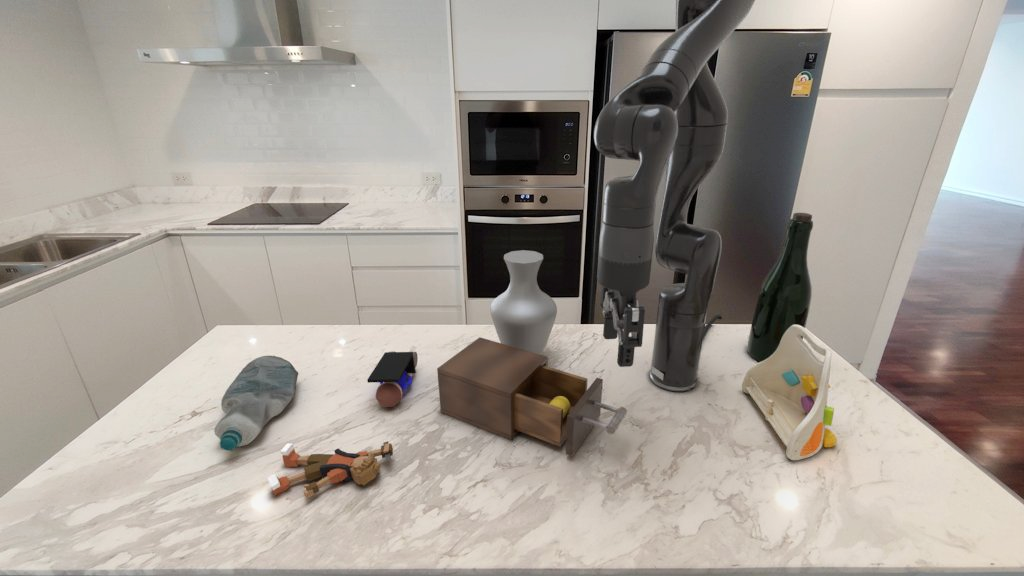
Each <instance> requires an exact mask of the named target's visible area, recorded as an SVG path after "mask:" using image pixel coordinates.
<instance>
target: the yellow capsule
mask: <svg viewBox="0 0 1024 576" xmlns="http://www.w3.org/2000/svg"><path fill="white" fill-rule="evenodd" d="M549 404H550V405H553V406H556V407H559V408H562V409H563V419H564V417H565V416H566V415H567V414H568V412H569V410H570V402H569V401H568V399H567V398H565V397H563V396H557V397H555V398H554V399H553V400H552V401H551V402H550V403H549Z"/></svg>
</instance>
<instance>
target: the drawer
mask: <svg viewBox="0 0 1024 576" xmlns="http://www.w3.org/2000/svg"><path fill="white" fill-rule="evenodd" d="M588 380H589V379H588V378H587V377H584V376H580V375H577V374H574V373H570V372H567V371H564V370H560V369H556V368H554V367H551V366H548V367H547V366H544V365H543V366H542V367H541V368H540V369H539V370H538V371H537V372H536V373H535V374H534V375H533V376H532V377H531V378H530V379H529V380H528V381H527V382H526V383H525V384H524V385H523V386H522V387H521V388H520V389H519V390H518V391H517V392H516V393H515V394H514V395H513V422H514V429H515V430H518V431H519V432H520V433H522V434H526V435H528V436H531V437H532V438H533V437H534V438H536V439H538V440H541V441H544V442H547V443H549V444H551V445H554V446H557V447H559V448H560V447H561V446H562V445H563V444H564V442H565V455H567V456H569V457H571V458H572V457H573V456H574V455H575V454H576V452H577V451H578V449H579V447H580V446H581V445H582V443H583V442H584V440H585V439H586V437H587V436H588V434H589V432H590V431H591V430H592V428H593V427H598V428H600V429H603V430H605V431H606V432H607V434H609V435H614V434H616V432H617V430H618V428H619V427H620V425H621V424H622V421H624V418H625V417H626V415H627V413H628V410H627V409H626V407H624V406H620V407H614V406H611V405H608V404H605V403H602V398H603V383H604V382H603V381H604V379H603V378H599V377H596V378H595V379H594V381H593V382H592V383H591V384H590V386H589V387H588ZM557 396H563V397H565V398H567V399H568V401H569V402H570V410H569V412H568V414H567V415H566V416H565V417H564V419H563V409H562V408H559V407H556V406H553V405H550V404H549V403H550V402H551V401H552V400H553V399H554V398H555V397H557ZM601 409H603V410H607V411H609V412H612V413H615V414H614V415H613V416H612V418H611V419H610V421H609V423H608V424H606V423H604V422H601V421H598V419H599V418H600V416H601V411H602V410H601Z"/></svg>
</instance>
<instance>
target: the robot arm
mask: <svg viewBox="0 0 1024 576" xmlns="http://www.w3.org/2000/svg"><path fill="white" fill-rule="evenodd" d="M755 2H756V0H675V31H674V32H673V33H671V34H670V35H669V36H667V37H666V38H665V39H664V40H663V41H662V42H661V43H659V45H658V46H657V47H656V48H655V50H654V51H653V52H652V54H651V55H650V57H649V58H648V60H647V61H646V63H645V65H644V67H643V68H642V70H641V71H640V73H639V75H638V76H636V78H635V79H633V80H632V81H630V82H629V83H628V84H626V86H625V87H623V88H622V89H621V90H620V91H619V92H618V93H616V94H615V95H614V96H613V97H612V98H611V99H610V100H609V101H608V102H607V103H606V104H605V105H604V107H603V108H602V109H601V111H600V113H599V115H598V117H597V119H596V121H595V124H594V128H593V142H594V145H595V148H596V150H597V151H598V153H600V155H602V156H603V157H605V158H609V159H615V160H627V161H636V162H637V161H639V164H638V167H637V169H636V171H635V172H634V174H633V175H626V176H619V177H614V178H611V179H610V180H608V181H607V183H606V184H605V186H604V192H603V204H602V221H601V227H600V233H599V238H598V239H599V241H598V255H597V256H598V257H597V272H596V273H597V274H596V281H597V282H598V284H599V285H600V286H601V292H600V303H599V306H600V309H602V316H603V332H602V336H603V338H604V339H605V340H615V339H617V338H618V346H617V347H618V348H617V358H616V359H617V361H616V363H617V365H618V367H620V368H627V367H632V366H633V365H634V359H635V350H636V349H635V348H642V346H643V339H644V338H643V337H644V325H645V314H646V313H645V312H646V309H645V307H644V306H639V298H638V297H637V294H638V292H640V291H641V290H643V289H645V288H647V287H648V286H649V284H650V282H651V281H650V278H651V273H652V272H651V271H652V261H653V250H654V249H655V250H654V251H655V259H656V262H657V263H658V265H659V266H661V267H662V268H664V269H668V270H670V271H674V272H678V273H681V274H684V275H686V276H687V277H686V281H685V282H679V283H677V282H676V283H671V284H668V285H665V286H663V287H662V288H661V289H660V290H659V296H658V304H657V313H656V322H655V329H654V337H653V346H652V354H651V355H652V356H651V357H652V358H651V365H650V370H649V379H650V381H651V382H652V383H653V384H654V385H655V386H658V387H659V388H662V389H664V390H666V391H667V390H668V391H672V392H686V391H687V392H688V391H690V390H692V389H694V388H695V387H696V385H697V380H698V372H699V366H700V361H701V353H702V348H703V347H702V346H703V342H704V341H703V340H704V338H705V337H706V334H707V332H708V330H709V328H710V327H711V326H712V325H713V324H714V323H715V321H717V320H722V319H723V317H722V316H721V314H716V315H714V316H713V317H712V318H711V319H710V320H709V321H708V322H707V324H706V321H707V315H708V309H709V304H710V300H711V297H712V294H713V291H714V287H715V282H716V277H717V272H718V269H719V264H720V260H721V255H722V249H723V241H722V235H721V234H720V233H719V231H718V230H717V229H714V228H710V227H705V226H701V225H695V224H691V223H688V213H689V207H690V204H691V201H692V199H693V197H694V195H695V193H696V191H697V190H698V188H700V186H701V185H702V183H703V182H704V181H705V180H706V178H707V177H708V176H709V175H710V174H711V172H712V171H713V170H714V168H715V167H716V165H717V164H718V163H719V161H720V159H721V158H722V155H723V153H724V150H725V144H726V136H727V129H728V122H729V121H728V120H729V110H728V105H727V102H726V100H725V98H724V95H723V93H722V90H721V89H720V87H719V85H718V83H717V82H716V79H715V77H714V76H713V74H712V71H711V70H710V68H709V65H708V62H709V61H710V59H711V58H712V56H713V55H714V54H715V53H716V52H717V51H718V50H719V49H720V48H721V46H722V45H723V44H724V43H725V42H726V41H727V40H728V39H729V37H730V36H732V34H733V33H734V31H735V30H736V29H737V28H738V27H739V26H740V25H741V23H743V22H744V20H745V19H746V18H747V16H748V15H749V13H750V12H751V10H752V8H753V6H754V4H755ZM665 170H666V172H665ZM664 174H665V181H664V190H663V196H662V197H663V198H662V204H661V209H660V215H659V221H658V226H657V232H656V238H655V232H654V231H655V230H654V227H655V226H654V224H655V214H656V206H657V205H656V204H657V196H658V193H659V188H660V185H661V182H662V179H663V176H664ZM654 241H655V242H654ZM654 243H655V248H654ZM621 321H623V322H621ZM630 335H631V336H630Z"/></svg>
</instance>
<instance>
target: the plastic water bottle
mask: <svg viewBox="0 0 1024 576" xmlns="http://www.w3.org/2000/svg"><path fill="white" fill-rule="evenodd" d="M298 376H299V372H298V371H297V370H296V368H295V367H294V365H293V364H292V363H291V362H290V361H289V360H287V359H285V358H283V357H280V356H276V355H261V356H258V357H256V358H254V359H253V360H251V361H250V362H248V363H247V364H246V365H245V366H244V368H242V369H241V371H240V372H239V373H238V374H237V376H236V377H235V379H234V380H233V381H232V382H231V384H230V385H229V386H228V387H227V389H226V390H225V392H224V395H223V396H222V398H221V402H220V403H221V404H220V406H221V410H222V411H223V412H224V413H225V416H223V417H222V418H221V419H219V421H218V423H217V424H215V427H214V429H213V432H214V435H215V436H216V437H217V438H218V439H219V440H220V441H219V446H220V448H221V449H223V450H224V451H233V450H234V449H235V448H237V447H244V446H245V447H246V446H248V445H249V444H250V443H252V442H253V441H254V440H255V439H256V438H257V437H258V435H259V434H260V433H261V431H262V430H263V429H264V427H265V425H266V424H267V423H268V422H269V421H270V420H271V419H273V418H274V417H276V416H278V415H279V414H281V413H282V412H283V411H284V410H285V409H286V407H287V406H288V405H289V403H290V402H291V400H292V399H293V398H294V397H295V394H296V388H297V382H298V378H299V377H298Z"/></svg>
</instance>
